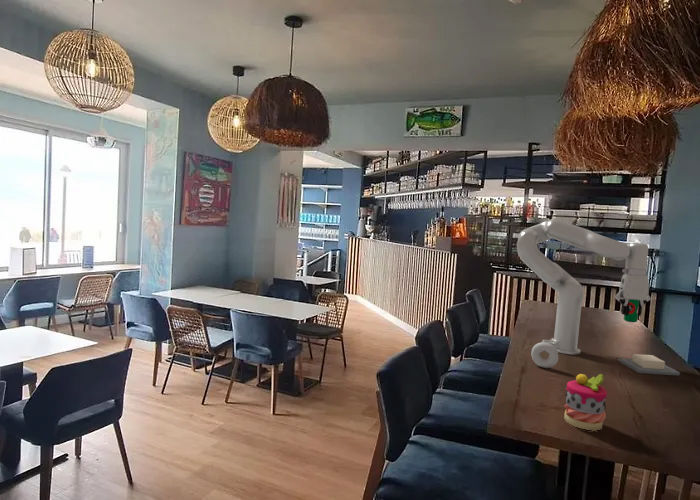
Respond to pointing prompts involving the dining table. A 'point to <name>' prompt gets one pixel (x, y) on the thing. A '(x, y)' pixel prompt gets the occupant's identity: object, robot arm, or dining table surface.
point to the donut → (548, 348)
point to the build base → (647, 370)
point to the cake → (585, 402)
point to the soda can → (632, 311)
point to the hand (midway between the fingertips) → (631, 314)
